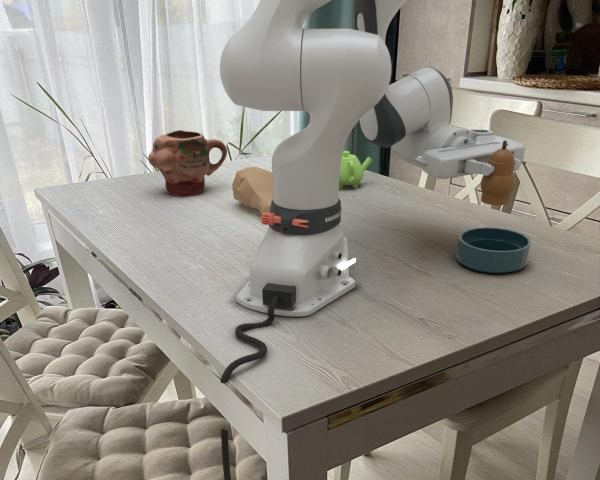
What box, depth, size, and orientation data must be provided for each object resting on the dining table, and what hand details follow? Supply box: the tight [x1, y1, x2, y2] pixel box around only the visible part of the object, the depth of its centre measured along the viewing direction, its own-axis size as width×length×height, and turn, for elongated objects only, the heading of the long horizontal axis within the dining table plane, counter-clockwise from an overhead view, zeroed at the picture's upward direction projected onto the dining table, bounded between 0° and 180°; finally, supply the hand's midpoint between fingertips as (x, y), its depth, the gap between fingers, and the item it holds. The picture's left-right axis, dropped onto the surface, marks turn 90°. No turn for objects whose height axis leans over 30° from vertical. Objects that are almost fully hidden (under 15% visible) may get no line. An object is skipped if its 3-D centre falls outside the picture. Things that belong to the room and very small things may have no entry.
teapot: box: [339, 150, 374, 190], centre depth 159 cm, size 11×12×8 cm
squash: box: [231, 166, 273, 216], centre depth 142 cm, size 11×20×9 cm, turn 25°
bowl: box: [455, 226, 532, 274], centre depth 115 cm, size 13×13×4 cm
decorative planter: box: [147, 129, 228, 197], centre depth 155 cm, size 20×12×14 cm, turn 115°
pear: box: [480, 140, 517, 206], centre depth 108 cm, size 6×6×10 cm
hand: (504, 168), depth 107 cm, fingers closed on pear, 4 cm apart
